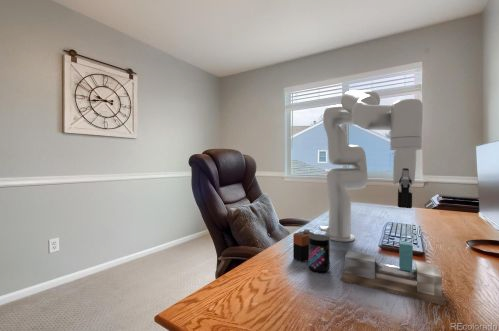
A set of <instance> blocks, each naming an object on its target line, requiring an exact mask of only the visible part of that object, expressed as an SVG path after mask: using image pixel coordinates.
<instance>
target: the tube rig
mask: <svg viewBox="0 0 499 331" xmlns="http://www.w3.org/2000/svg"><path fill="white" fill-rule="evenodd" d="M375 262H377V256H375V255H371V254H366V253H359V252H354V251H349V250H348V251H347V252H346V254H345V256H344V269H343V272H342V274H341V276H340V281H342V282H346V283H349V284H354V285H359V286H363V287H366V288H370V289H375V290H379V291H383V292H387V293H392V294H396V295H400V296H404V297H408V298H412V299H416V300H421V301H425V302H429V303H431V304H432V303H433V304H437V305H441V306H446V303H447V302H446V298H445V295H444V293H443V276H442V274H441V271H440V268H439V266H438V265H437V264H432V263H426V262H425V263H424V262H419V261H415V270H417V282H416V281H411V280H406V279H401V278H397V277H392V276H387V275H383V274H378V273H375Z"/></svg>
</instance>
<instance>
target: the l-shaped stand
mask: <svg viewBox="0 0 499 331" xmlns="http://www.w3.org/2000/svg"><path fill="white" fill-rule="evenodd" d="M398 245H399V253H398V255H399V256H398V257H399V259H398V260H399V261H398V266H397V265H392V264H387V263H382V262H377V261H376V262H375V273H378V274H383V275H387V276H392V277H397V278H401V279H406V280H411V281H416V282H417V270H416V269H414V268H413V259H414V258H413V254H414V252H413V249H414V248H413V246H414V245H413V242H411V241H405V240H399V243H398Z"/></svg>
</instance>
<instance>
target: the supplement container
mask: <svg viewBox="0 0 499 331" xmlns="http://www.w3.org/2000/svg"><path fill="white" fill-rule="evenodd" d="M330 259H331V240H330V237H328V236H326V235H325V234H322V233H314V234H312V235H309V236H308V260H307V265H308V266H307V267H308V269H309V271H311V272H312V273H315V274H326V273H328V272H329V271H330V267H331V266H330V264H331V261H330Z"/></svg>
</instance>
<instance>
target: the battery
mask: <svg viewBox="0 0 499 331" xmlns="http://www.w3.org/2000/svg"><path fill="white" fill-rule="evenodd" d="M312 234H315V233H314V232H311V230H310V229H307V228H305V229H303V230H302V231H301V230H300V231H298V232H295V233H293V235H292V236H293V238H292V239H293V245H292V246H293V250H292V252H293V255H292V256H293V259H294V260H296V261H298V262H301V263H303V262H308V236H309V235H312Z"/></svg>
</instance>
